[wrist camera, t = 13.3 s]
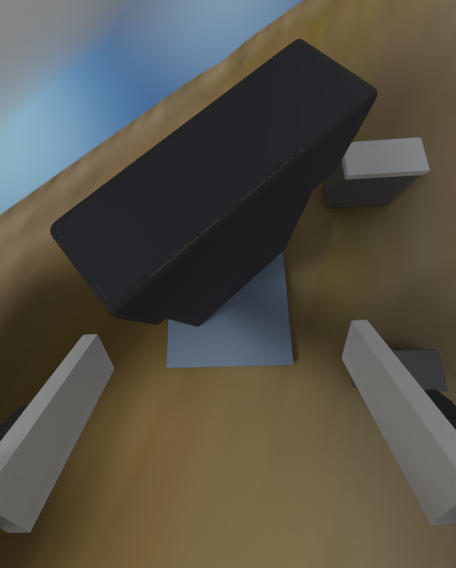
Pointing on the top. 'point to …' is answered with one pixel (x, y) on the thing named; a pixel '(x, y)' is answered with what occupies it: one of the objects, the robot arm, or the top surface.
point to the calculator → (216, 191)
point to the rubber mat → (239, 328)
